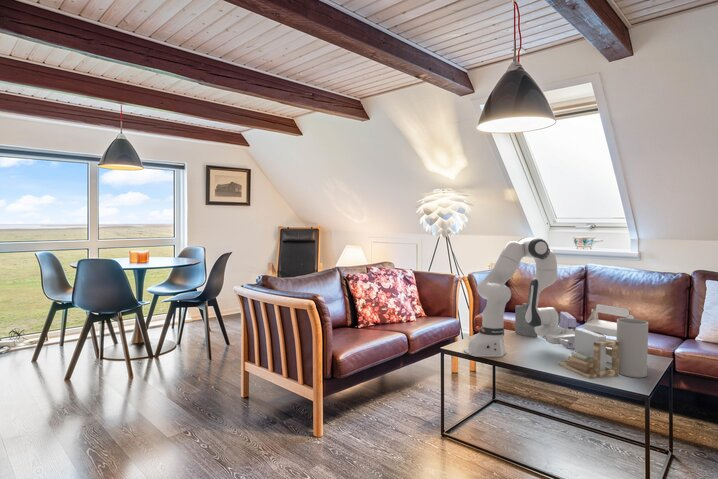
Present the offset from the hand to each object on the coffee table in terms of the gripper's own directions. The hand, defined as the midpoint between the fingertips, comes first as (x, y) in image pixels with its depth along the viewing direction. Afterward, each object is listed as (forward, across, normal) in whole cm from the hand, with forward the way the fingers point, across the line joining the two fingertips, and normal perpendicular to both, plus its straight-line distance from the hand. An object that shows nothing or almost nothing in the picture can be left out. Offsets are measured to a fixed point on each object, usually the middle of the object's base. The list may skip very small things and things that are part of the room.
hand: (575, 342), depth 224 cm
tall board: (+10, 0, +11) cm, 15 cm away
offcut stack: (+13, -7, +9) cm, 17 cm away
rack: (+11, -2, +10) cm, 15 cm away
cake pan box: (-30, +18, +11) cm, 37 cm away
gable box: (-1, +22, +11) cm, 25 cm away
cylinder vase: (+20, +14, +11) cm, 27 cm away
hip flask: (-56, +9, +11) cm, 58 cm away
